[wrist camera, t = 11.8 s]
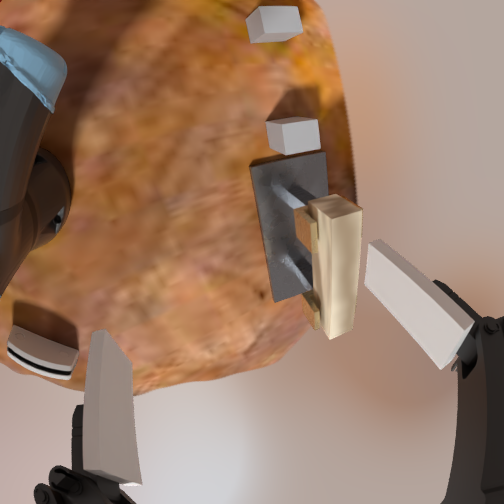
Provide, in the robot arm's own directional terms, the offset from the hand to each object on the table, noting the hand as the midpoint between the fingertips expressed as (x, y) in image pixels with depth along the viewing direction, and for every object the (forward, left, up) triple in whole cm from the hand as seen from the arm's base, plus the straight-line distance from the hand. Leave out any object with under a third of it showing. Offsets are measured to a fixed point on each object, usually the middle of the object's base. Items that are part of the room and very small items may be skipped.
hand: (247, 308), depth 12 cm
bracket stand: (+14, -15, -28) cm, 35 cm away
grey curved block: (-41, -22, -29) cm, 55 cm away
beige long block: (+14, -15, -18) cm, 27 cm away
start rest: (+14, +10, -28) cm, 33 cm away
